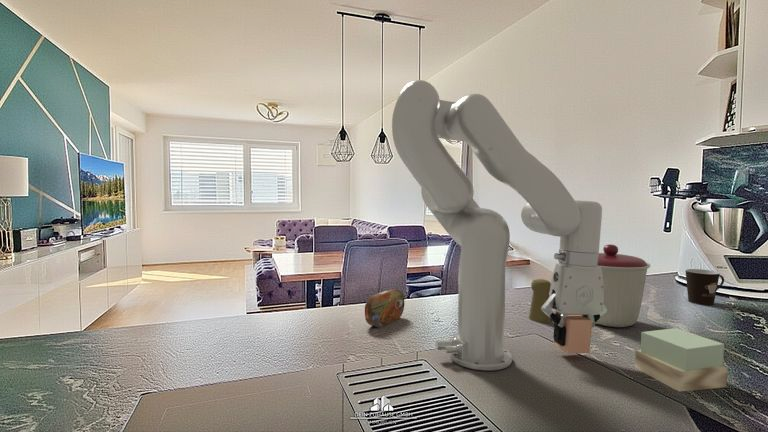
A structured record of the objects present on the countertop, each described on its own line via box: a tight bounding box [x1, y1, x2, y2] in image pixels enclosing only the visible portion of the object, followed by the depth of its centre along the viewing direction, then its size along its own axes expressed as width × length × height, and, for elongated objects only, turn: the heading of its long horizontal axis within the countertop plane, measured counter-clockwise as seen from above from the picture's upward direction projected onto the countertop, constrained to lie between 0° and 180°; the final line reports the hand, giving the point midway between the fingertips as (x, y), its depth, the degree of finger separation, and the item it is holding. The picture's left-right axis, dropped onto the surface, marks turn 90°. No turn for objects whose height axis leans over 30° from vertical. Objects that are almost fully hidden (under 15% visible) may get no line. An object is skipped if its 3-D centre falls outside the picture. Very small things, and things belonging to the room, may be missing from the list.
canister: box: [595, 243, 651, 328], centre depth 110 cm, size 18×18×21 cm
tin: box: [364, 289, 405, 328], centre depth 110 cm, size 15×3×8 cm, turn 143°
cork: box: [528, 278, 552, 324], centre depth 113 cm, size 6×6×11 cm
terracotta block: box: [553, 315, 593, 354], centre depth 87 cm, size 5×5×7 cm
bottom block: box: [634, 349, 729, 392], centre depth 78 cm, size 10×10×4 cm
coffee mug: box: [685, 268, 725, 306], centre depth 129 cm, size 12×9×10 cm
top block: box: [640, 327, 725, 371], centre depth 77 cm, size 9×9×4 cm
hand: (571, 342), depth 87 cm, fingers closed on terracotta block, 5 cm apart
